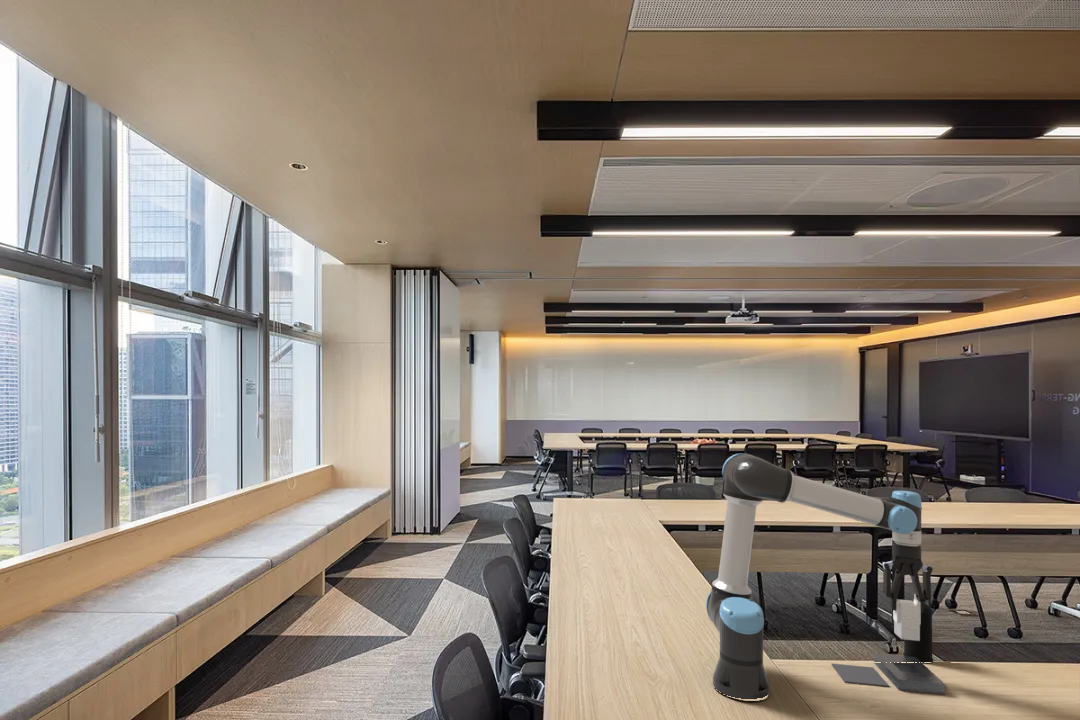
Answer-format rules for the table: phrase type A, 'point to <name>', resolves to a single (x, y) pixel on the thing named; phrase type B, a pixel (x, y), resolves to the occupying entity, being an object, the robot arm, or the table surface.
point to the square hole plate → (909, 674)
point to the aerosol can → (921, 638)
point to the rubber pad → (859, 675)
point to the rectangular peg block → (908, 621)
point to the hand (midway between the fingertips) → (906, 621)
